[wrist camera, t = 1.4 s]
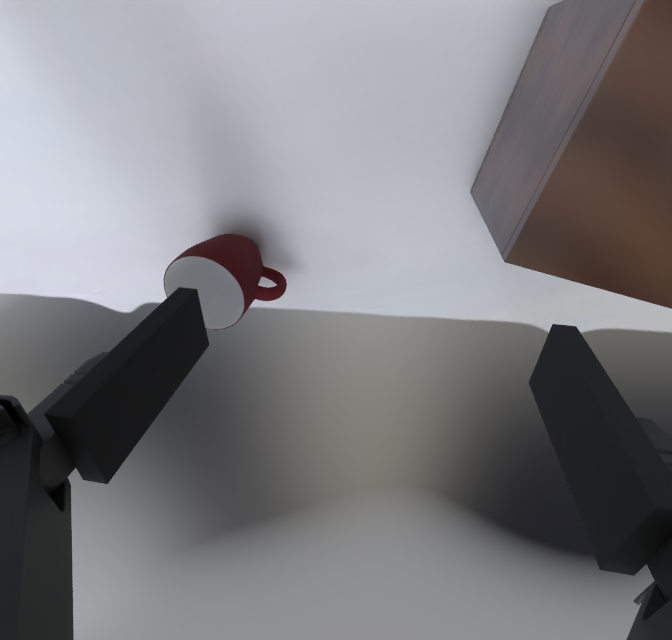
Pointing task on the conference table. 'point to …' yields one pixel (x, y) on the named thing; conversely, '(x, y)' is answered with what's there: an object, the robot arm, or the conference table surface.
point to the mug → (223, 278)
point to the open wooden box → (589, 151)
